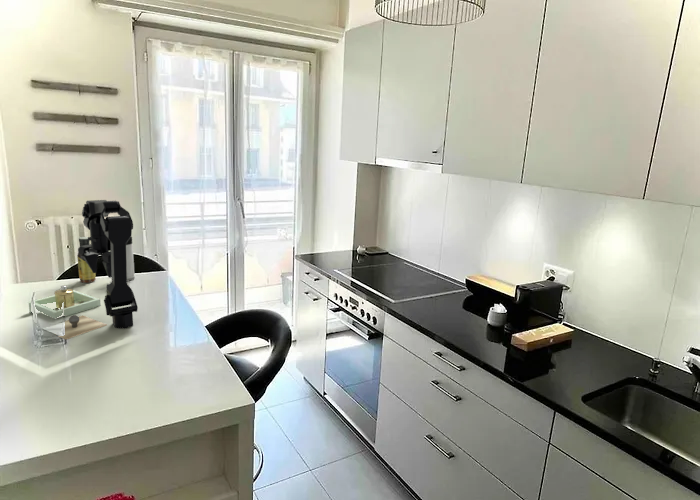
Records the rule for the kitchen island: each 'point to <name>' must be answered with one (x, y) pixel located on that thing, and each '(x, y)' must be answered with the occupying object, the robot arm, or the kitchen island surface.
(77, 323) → the stud plate
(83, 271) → the sauce bottle
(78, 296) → the bin
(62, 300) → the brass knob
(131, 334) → the kitchen island surface
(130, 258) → the travel mug
